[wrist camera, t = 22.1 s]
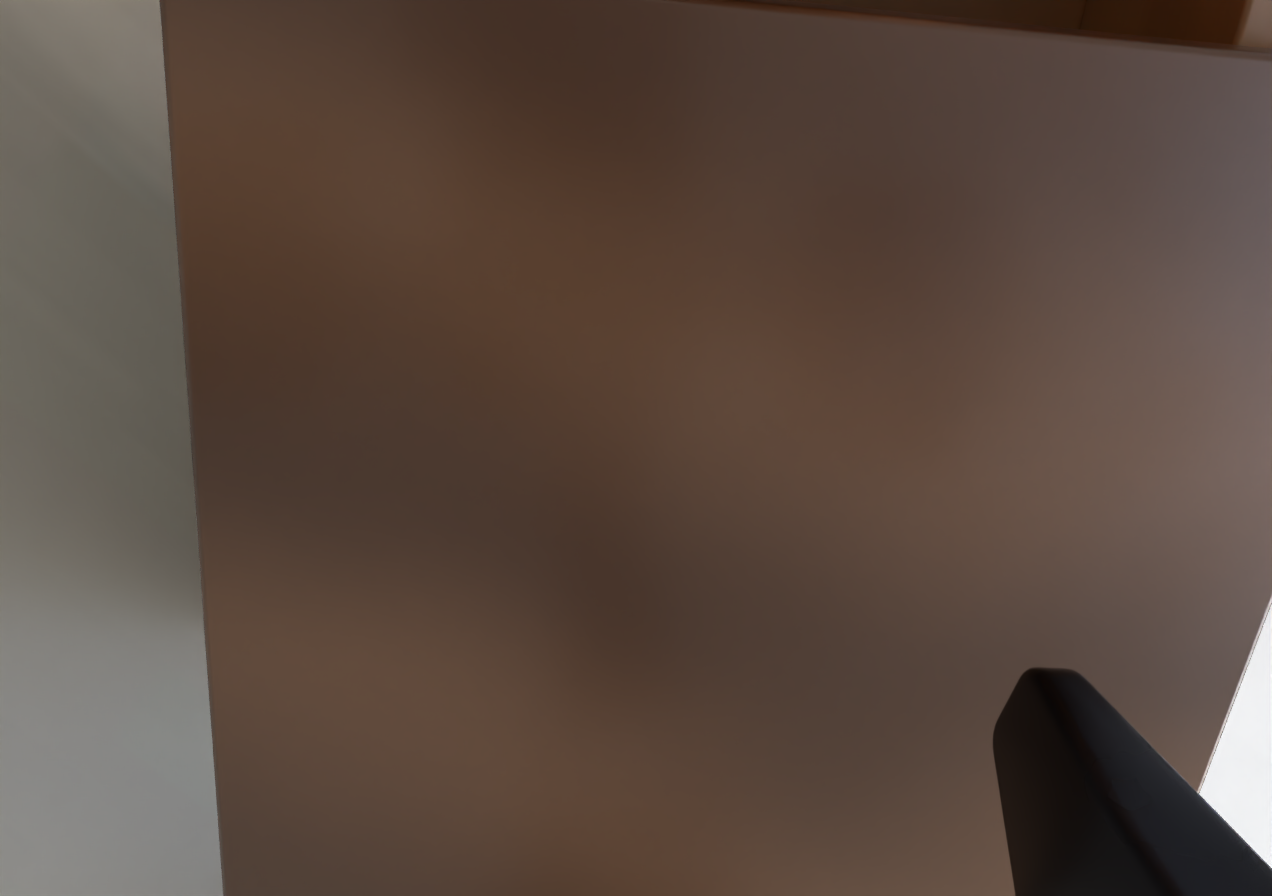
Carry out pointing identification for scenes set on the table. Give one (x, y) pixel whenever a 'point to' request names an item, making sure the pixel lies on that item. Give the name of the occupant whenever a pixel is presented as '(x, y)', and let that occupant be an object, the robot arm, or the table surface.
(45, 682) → the table surface
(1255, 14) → the drawer
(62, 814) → the table surface
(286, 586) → the cabinet
